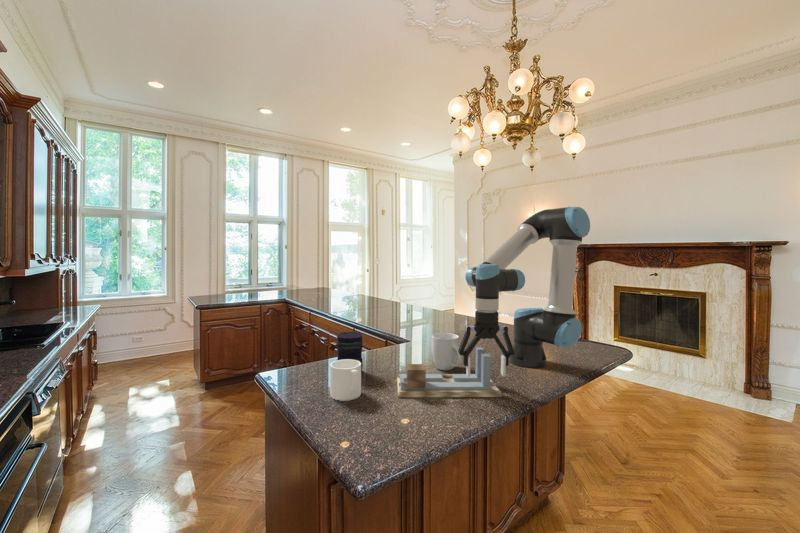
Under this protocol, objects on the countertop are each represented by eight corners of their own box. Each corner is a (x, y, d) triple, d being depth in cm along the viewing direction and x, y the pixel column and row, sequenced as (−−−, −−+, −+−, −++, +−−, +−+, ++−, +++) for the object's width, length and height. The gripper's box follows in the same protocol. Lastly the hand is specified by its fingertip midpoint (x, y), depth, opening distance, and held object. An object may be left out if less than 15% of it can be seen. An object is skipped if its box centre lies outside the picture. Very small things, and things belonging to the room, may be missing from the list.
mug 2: (471, 372, 138) (471, 339, 137) (449, 377, 132) (450, 343, 131) (446, 361, 150) (446, 331, 150) (425, 366, 144) (425, 334, 144)
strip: (488, 386, 121) (488, 353, 120) (491, 390, 117) (492, 356, 116) (400, 386, 120) (400, 353, 119) (400, 391, 116) (401, 357, 115)
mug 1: (325, 393, 117) (325, 362, 117) (352, 386, 123) (351, 357, 122) (342, 407, 107) (342, 373, 106) (370, 398, 113) (370, 367, 112)
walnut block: (423, 381, 121) (424, 364, 121) (425, 388, 115) (425, 370, 115) (406, 381, 121) (406, 364, 121) (407, 388, 115) (407, 370, 115)
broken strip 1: (441, 377, 128) (441, 374, 128) (442, 381, 124) (442, 378, 124) (400, 377, 128) (400, 374, 128) (400, 382, 124) (400, 378, 124)
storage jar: (367, 373, 136) (367, 334, 136) (347, 379, 129) (347, 339, 128) (351, 367, 143) (351, 330, 142) (331, 373, 136) (331, 334, 135)
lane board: (488, 378, 131) (488, 374, 131) (502, 396, 115) (502, 391, 115) (397, 379, 130) (397, 374, 130) (397, 397, 114) (397, 391, 114)
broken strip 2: (482, 377, 129) (482, 346, 128) (485, 381, 125) (485, 350, 124) (452, 377, 128) (452, 346, 128) (454, 381, 124) (454, 350, 124)
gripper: (517, 308, 121) (516, 371, 122) (449, 308, 121) (448, 371, 122) (526, 312, 114) (524, 379, 115) (453, 312, 113) (452, 379, 114)
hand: (485, 375), depth 118 cm, fingers open, 11 cm apart
